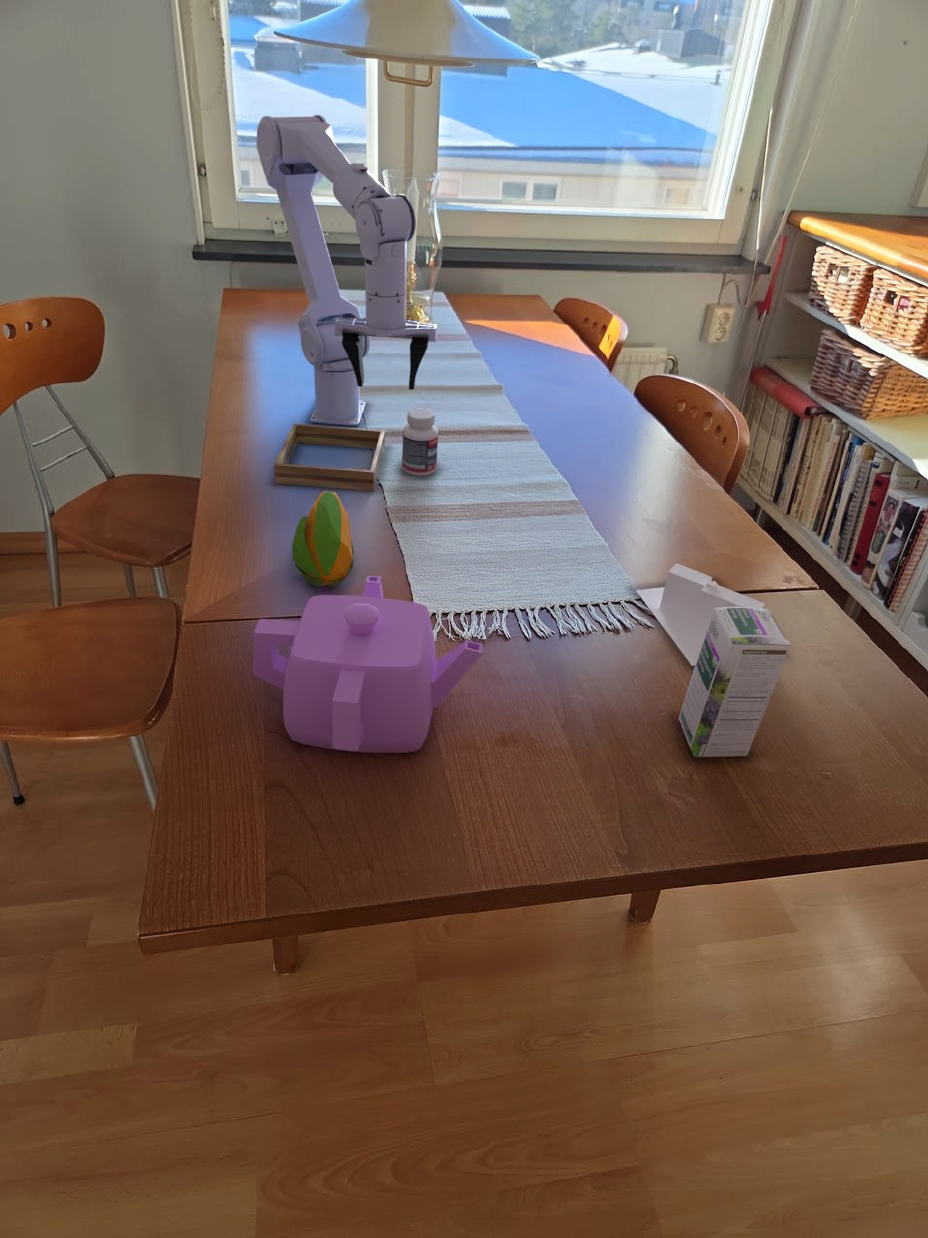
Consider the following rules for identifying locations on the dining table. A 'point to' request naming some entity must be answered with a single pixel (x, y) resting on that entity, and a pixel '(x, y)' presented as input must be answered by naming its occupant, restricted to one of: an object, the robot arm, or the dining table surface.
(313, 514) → the corn
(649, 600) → the napkin holder
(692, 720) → the syrup box
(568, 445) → the dining table surface
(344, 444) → the picture frame
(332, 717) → the teakettle
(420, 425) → the pill bottle
